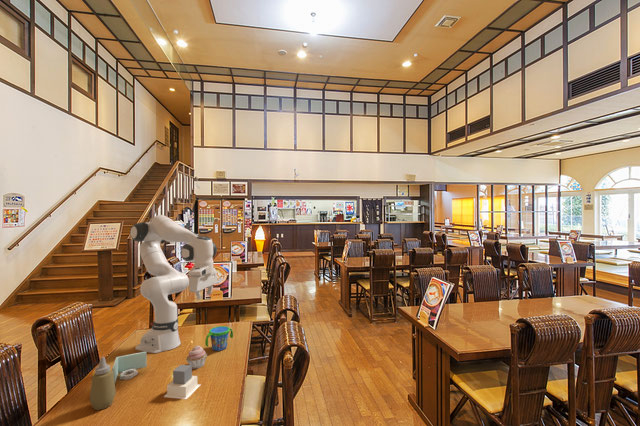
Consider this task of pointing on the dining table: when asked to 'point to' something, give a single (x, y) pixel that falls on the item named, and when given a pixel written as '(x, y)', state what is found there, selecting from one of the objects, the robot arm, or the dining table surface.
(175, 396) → the light grey flat slab
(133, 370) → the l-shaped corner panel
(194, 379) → the cream base block
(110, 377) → the squeeze bottle
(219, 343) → the snack cup
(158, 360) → the dining table surface
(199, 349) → the cupcake
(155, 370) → the dining table surface
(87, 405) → the dining table surface
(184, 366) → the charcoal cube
